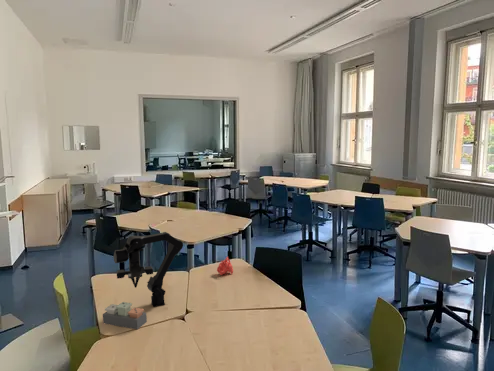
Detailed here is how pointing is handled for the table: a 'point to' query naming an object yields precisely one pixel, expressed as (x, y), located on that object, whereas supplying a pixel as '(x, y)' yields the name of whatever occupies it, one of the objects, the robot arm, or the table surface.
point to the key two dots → (124, 308)
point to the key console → (125, 320)
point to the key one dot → (111, 309)
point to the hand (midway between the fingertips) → (135, 287)
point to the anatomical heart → (225, 267)
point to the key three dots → (135, 312)
